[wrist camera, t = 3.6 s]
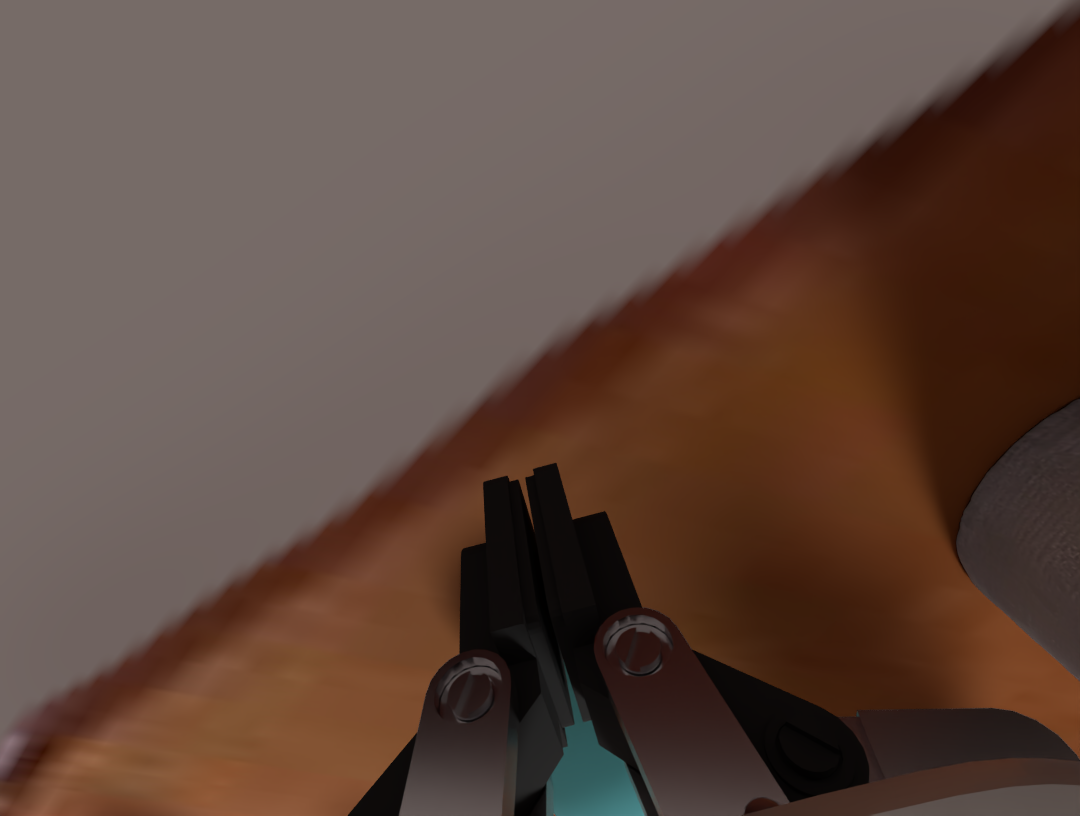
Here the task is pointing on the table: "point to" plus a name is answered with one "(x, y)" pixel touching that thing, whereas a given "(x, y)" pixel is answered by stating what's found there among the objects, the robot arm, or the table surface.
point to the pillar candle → (1032, 535)
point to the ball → (590, 775)
